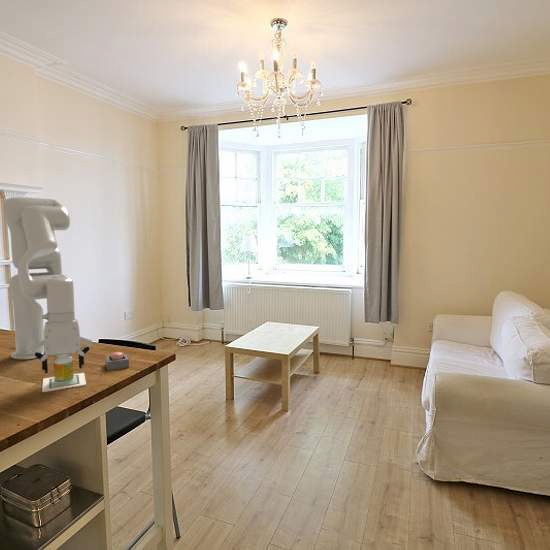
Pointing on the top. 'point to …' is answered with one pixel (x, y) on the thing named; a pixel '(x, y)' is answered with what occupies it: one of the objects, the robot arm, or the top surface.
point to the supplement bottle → (63, 368)
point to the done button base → (117, 363)
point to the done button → (116, 356)
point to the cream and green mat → (51, 385)
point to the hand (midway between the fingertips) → (63, 369)
